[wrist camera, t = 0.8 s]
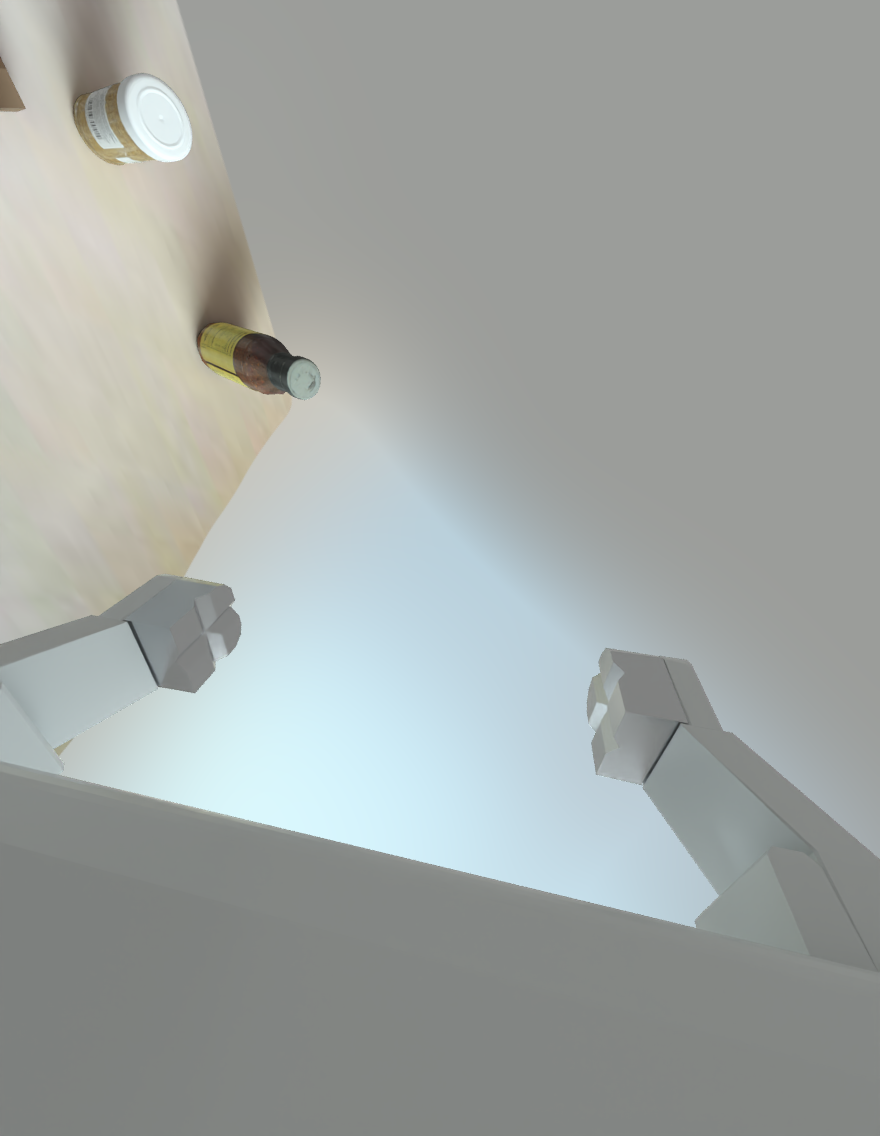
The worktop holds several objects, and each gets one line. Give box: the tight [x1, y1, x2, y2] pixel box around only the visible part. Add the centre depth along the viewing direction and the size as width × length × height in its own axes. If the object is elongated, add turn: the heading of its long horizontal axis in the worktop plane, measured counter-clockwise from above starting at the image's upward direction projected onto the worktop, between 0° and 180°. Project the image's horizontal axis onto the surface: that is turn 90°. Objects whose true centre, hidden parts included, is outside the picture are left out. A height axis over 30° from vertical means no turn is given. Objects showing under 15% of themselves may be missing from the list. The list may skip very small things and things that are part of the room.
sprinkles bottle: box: [74, 73, 192, 165], centre depth 34 cm, size 5×5×13 cm
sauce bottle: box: [197, 323, 321, 400], centre depth 48 cm, size 6×6×20 cm
